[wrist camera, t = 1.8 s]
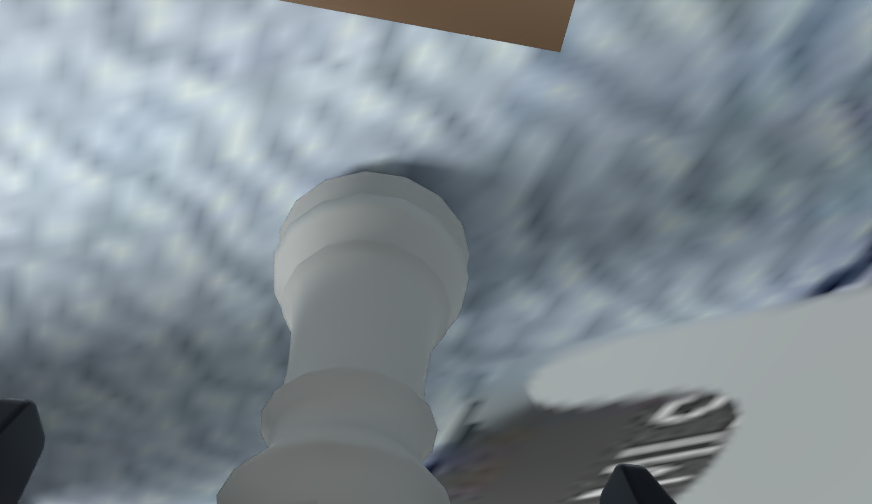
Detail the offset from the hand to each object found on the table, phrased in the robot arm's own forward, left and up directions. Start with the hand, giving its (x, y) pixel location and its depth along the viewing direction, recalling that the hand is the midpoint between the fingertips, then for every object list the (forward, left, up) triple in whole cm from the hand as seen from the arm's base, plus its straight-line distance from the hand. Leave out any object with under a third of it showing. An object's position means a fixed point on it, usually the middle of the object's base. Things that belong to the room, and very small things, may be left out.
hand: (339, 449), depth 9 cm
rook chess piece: (0, 0, -6) cm, 6 cm away
